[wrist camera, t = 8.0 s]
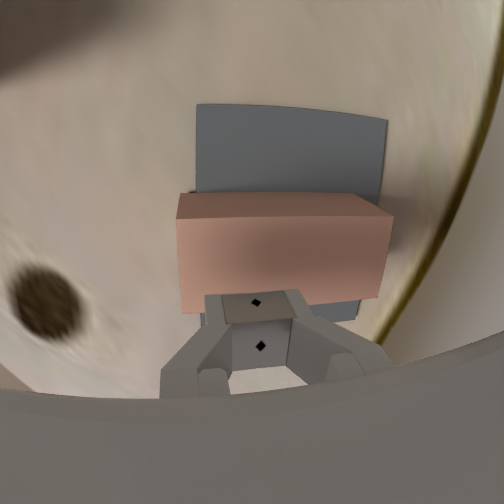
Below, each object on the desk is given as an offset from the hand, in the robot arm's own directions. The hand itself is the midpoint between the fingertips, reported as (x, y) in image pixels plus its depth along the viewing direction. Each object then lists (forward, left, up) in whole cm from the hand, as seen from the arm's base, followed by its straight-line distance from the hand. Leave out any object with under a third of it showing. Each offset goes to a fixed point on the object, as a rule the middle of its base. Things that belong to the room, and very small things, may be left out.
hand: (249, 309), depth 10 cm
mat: (0, +4, -9) cm, 10 cm away
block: (0, -2, -6) cm, 7 cm away
